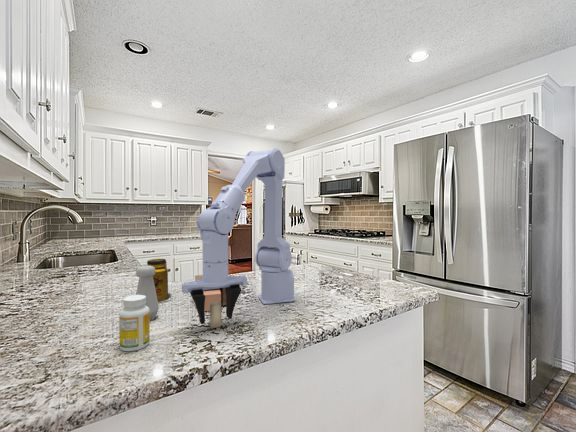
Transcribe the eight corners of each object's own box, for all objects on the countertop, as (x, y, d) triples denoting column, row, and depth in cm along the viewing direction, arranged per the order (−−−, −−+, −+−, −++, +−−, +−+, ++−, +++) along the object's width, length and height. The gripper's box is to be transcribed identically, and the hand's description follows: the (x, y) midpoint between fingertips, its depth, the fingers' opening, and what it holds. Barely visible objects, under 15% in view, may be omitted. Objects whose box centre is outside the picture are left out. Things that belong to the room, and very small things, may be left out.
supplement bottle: (126, 355, 55) (125, 303, 54) (115, 346, 58) (114, 298, 58) (154, 344, 59) (154, 297, 58) (142, 337, 62) (142, 292, 62)
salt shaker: (148, 324, 69) (147, 269, 69) (127, 322, 70) (126, 268, 70) (163, 315, 75) (163, 264, 75) (143, 313, 76) (143, 263, 76)
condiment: (143, 304, 84) (143, 262, 83) (145, 296, 92) (144, 258, 91) (171, 301, 87) (170, 260, 86) (170, 293, 94) (170, 256, 94)
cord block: (219, 304, 83) (219, 286, 83) (226, 326, 68) (225, 304, 67) (203, 306, 81) (203, 288, 81) (206, 328, 66) (206, 306, 66)
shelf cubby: (222, 293, 94) (222, 273, 94) (227, 305, 83) (227, 282, 83) (195, 296, 92) (195, 275, 91) (195, 308, 80) (195, 285, 80)
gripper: (239, 256, 74) (240, 309, 75) (179, 261, 67) (179, 319, 68) (250, 260, 68) (250, 318, 68) (184, 266, 61) (185, 330, 61)
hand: (215, 319), depth 68 cm, fingers open, 6 cm apart
